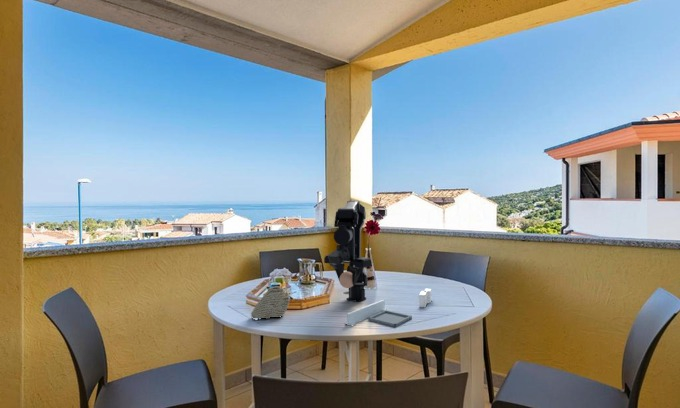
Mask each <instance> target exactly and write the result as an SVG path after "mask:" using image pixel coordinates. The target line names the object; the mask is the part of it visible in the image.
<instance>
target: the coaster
mask: <svg viewBox="0 0 680 408" xmlns="http://www.w3.org/2000/svg"><path fill="white" fill-rule="evenodd" d="M412 317H413V316H412V315H409V314H404V313H400V312H395V311H390V310H385V311H383V312H380V313H378V314H375V315H373V316H371V317H369V318H367V320H368V321H369V322H373V323H377V324H381V325H385V326H389V327H394V328H397V327H399V326H400V325H402V324H405V323H406V322H408V321H410V320H411V319H413V318H412Z"/></svg>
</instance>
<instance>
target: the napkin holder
mask: <svg viewBox="0 0 680 408" xmlns="http://www.w3.org/2000/svg"><path fill="white" fill-rule="evenodd" d="M431 301H432V288H424V289H423V290H421V291H420V293H419V294H418V306H419V308H426V306H427V304H431V303H432V302H431Z"/></svg>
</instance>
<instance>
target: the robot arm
mask: <svg viewBox="0 0 680 408" xmlns="http://www.w3.org/2000/svg"><path fill="white" fill-rule="evenodd" d="M366 218H367V212H366V208H365V206H363V205H362V204H361V202H360V200H347V203H346V205H345V206H344V207H339V208H338V209H337V211H336V212H335V218H334V224H333V226H334V228H338V229H336V230H335V232H334V233H333V240H334V241H335V242H336V244H337V245H336V249H335V250H333V251H332V252H331V253H329V254H326V255H324V259H323V261H324V264H329V266H330V267H332V268H333V269H334V271H335V274H336V277H337V278H338V280H339V278H340V276H341V274H342V273H344V272H345V264H348V265H347V267H346V272H351V273H352V282H353V286H352V287H350V288H348V297H347V298H346V300H347V301H352V302H356V303H357V302H358V303H359V302H361V301H363V300H366V299H367V297H366V289H365V287H368V275H366V272H365V268H367V267H372V265H373V264H372V258H370V257H365V256H364V257H362V256H361V252H362V251H361V250H362V249H361V247H362V241H361V240H362V238H361V237H362V236H361V235H362V234H361V233H362V231H361V230H362V229H363V226H364V225H365V220H366Z"/></svg>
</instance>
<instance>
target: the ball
mask: <svg viewBox="0 0 680 408" xmlns="http://www.w3.org/2000/svg"><path fill="white" fill-rule="evenodd" d="M338 281H339V284H340V285H341V286H342V287H343V288H345V289H349V288H350V287H352V286H353V282H352V273H351V272H347V271H344V273H342V274H341V276H340V278H339V279H338Z"/></svg>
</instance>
